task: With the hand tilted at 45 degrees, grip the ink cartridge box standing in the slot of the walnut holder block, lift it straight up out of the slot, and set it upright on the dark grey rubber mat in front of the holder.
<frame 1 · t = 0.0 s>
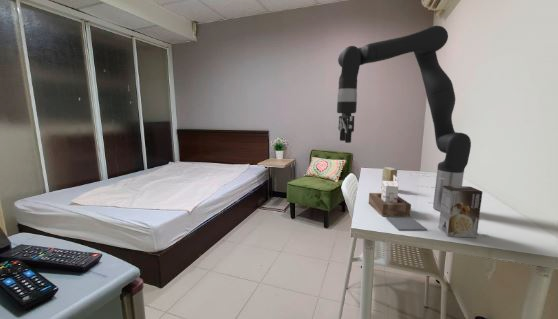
hand: (345, 141, 102), 29 cm above the table, tool pointing down, fingers open, 8 cm apart
ink cartridge box: (387, 210, 107), resting in walnut holder
walnut holder: (387, 209, 107), on the table
skincare box: (388, 190, 135), on the table
grey mat: (405, 224, 92), on the table
coffee box: (456, 233, 85), on the table
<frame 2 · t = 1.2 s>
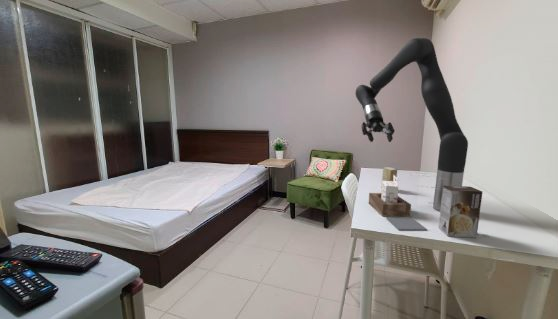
hand: (381, 140, 113), 29 cm above the table, tool tilted 45°, fingers open, 8 cm apart
nothing on the table moved.
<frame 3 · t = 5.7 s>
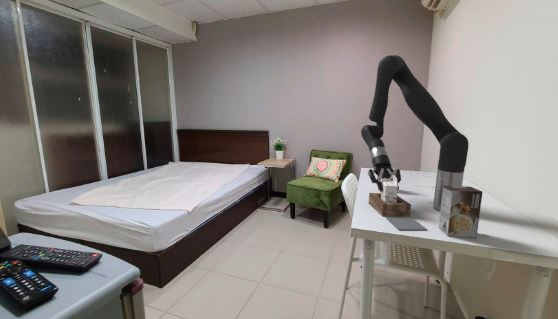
hand: (389, 190, 106), 8 cm above the table, tool tilted 45°, fingers closed on ink cartridge box, 5 cm apart
ink cartridge box: (387, 209, 107), resting in walnut holder, touching gripper
everything else where it was.
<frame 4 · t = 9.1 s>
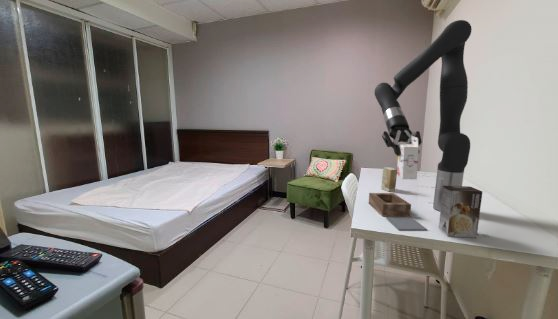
hand: (408, 154, 90), 26 cm above the table, tool tilted 45°, fingers closed on ink cartridge box, 5 cm apart
ink cartridge box: (406, 177, 91), point 17 cm above the table, touching gripper
everything else where it was.
when the fingers open (10 cm above the table, at t = 12.9 s): ink cartridge box drops 1 cm, resting on grey mat.
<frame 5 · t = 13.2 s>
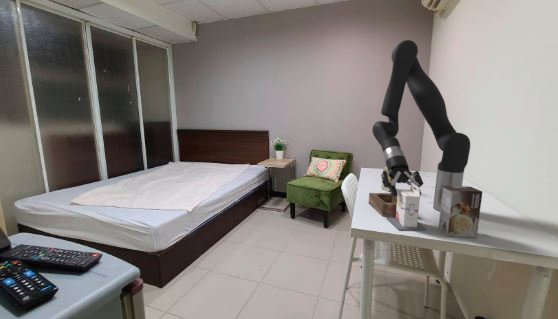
hand: (407, 196, 91), 11 cm above the table, tool tilted 45°, fingers open, 8 cm apart
ink cartridge box: (405, 223, 92), resting on grey mat
everything else where it was.
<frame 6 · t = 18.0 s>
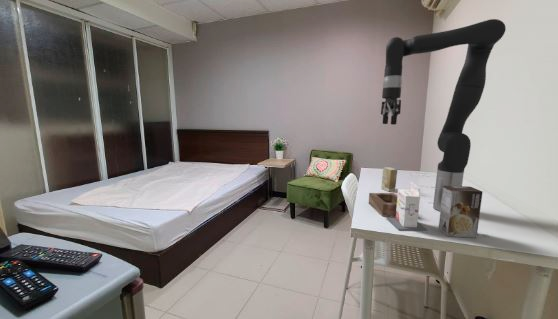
hand: (389, 124, 113), 36 cm above the table, tool pointing down, fingers open, 8 cm apart
nothing on the table moved.
at the end: ink cartridge box inside the target area on the grey mat (0.3 cm from its centre), point 0.3 cm above the grey mat's base; ink cartridge box tilted 0°; the gripper is holding nothing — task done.
